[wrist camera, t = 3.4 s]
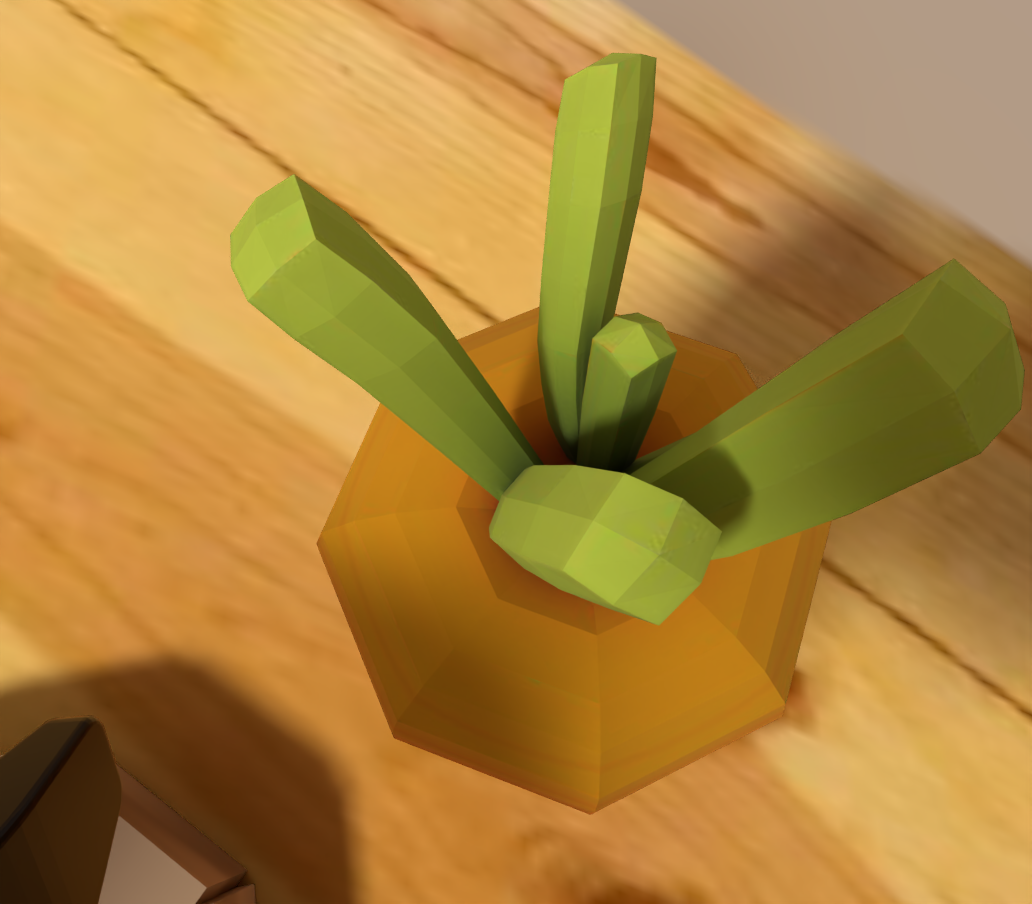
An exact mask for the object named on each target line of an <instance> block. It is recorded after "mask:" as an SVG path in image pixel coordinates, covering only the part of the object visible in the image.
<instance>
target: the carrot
mask: <svg viewBox="0 0 1032 904" xmlns="http://www.w3.org/2000/svg"><path fill="white" fill-rule="evenodd" d="M655 73H656V58H655V57H651V56H647V55H643V54H629V53H611V54H610V55H608V56H606V57H604V58H603V59H601V60H599V61H597V62H596V63H594V64H592V65H590V66H588V67H587V68H585V69H583V70H581V71H580V72H578V73H576V74H574V75H573V76H571V77H569V78H567V79H566V80H565V82H564V87H563V93H562V98H561V104H560V109H559V115H558V120H557V126H556V131H555V140H554V150H553V160H552V170H551V180H550V191H549V201H548V212H547V222H546V233H545V244H544V255H543V266H542V277H541V292H540V307H538V308H535V309H533V310H530V311H528V312H525V313H523V314H520V315H518V316H515V317H513V318H510V319H508V320H505V321H503V322H500V323H498V324H496V325H493V326H491V327H488V328H486V329H483V330H481V331H478V332H476V333H473V334H471V335H468V336H466V337H463V338H461V339H458V340H457V339H456V338H455V337H454V335H453V334H452V332H451V331H450V330H449V328H448V327H447V325H446V324H445V323H444V321H443V320H442V319H441V317H440V316H439V314H438V313H437V312H436V310H435V309H434V307H433V306H432V305H431V303H430V302H429V301H428V299H427V298H426V297H425V295H424V294H423V293H422V291H421V290H420V289H419V287H418V286H417V285H416V283H415V282H414V281H413V279H412V278H411V277H410V275H409V274H408V273H407V272H406V271H405V270H404V269H403V268H402V267H401V266H400V265H399V264H398V263H397V262H396V261H395V260H394V259H393V258H392V257H391V256H390V255H389V254H388V253H387V252H386V251H385V250H384V249H383V248H382V247H381V246H380V245H379V244H378V243H377V242H376V241H375V240H374V239H373V238H372V237H371V236H370V235H369V234H368V233H367V232H366V231H365V230H364V229H363V228H362V227H361V226H360V225H359V224H358V223H357V222H356V221H355V220H354V219H353V218H352V217H351V216H350V215H349V214H348V213H347V212H346V211H344V210H343V209H341V208H340V207H339V206H337V205H336V204H335V203H333V202H332V201H330V200H329V199H328V198H326V197H325V196H324V195H322V194H321V193H319V192H318V191H317V190H315V189H314V188H313V187H311V186H310V185H308V184H307V183H306V182H304V181H303V180H302V179H300V178H299V177H297V176H296V175H295V174H293V175H292V176H290V177H289V178H287V179H285V180H284V181H282V182H281V183H279V184H277V185H276V186H274V187H273V188H271V189H270V190H268V191H266V192H265V193H263V194H262V195H260V196H259V197H257V198H256V199H255V200H254V202H253V203H252V205H251V206H250V207H249V209H248V210H247V212H246V213H245V215H244V216H243V217H242V219H241V220H240V222H239V223H238V225H237V226H236V228H235V229H234V230H233V232H232V233H231V235H230V240H231V267H232V270H233V272H234V274H235V276H236V278H237V280H238V282H239V284H240V286H241V288H242V290H243V292H244V294H245V297H246V299H247V301H248V302H249V303H251V304H252V305H253V306H254V307H256V308H257V309H258V310H259V311H260V312H262V313H263V314H264V315H265V316H266V317H268V318H269V319H270V320H271V321H273V322H274V323H275V324H276V325H277V326H279V327H280V328H281V329H282V330H284V331H285V332H286V333H287V334H288V335H290V336H291V337H292V338H293V339H295V340H296V341H297V342H299V343H300V344H302V345H303V346H305V347H306V348H307V349H309V350H310V351H312V352H313V353H315V354H316V355H317V356H319V357H320V358H322V359H323V360H325V361H326V362H327V363H329V364H330V365H332V366H333V367H334V368H336V369H337V370H339V371H340V372H342V373H343V374H344V375H346V376H347V377H349V378H350V379H352V380H353V381H354V382H356V383H357V384H359V385H360V386H361V387H362V388H363V389H365V390H366V391H367V392H368V393H370V394H371V395H372V396H373V397H374V398H376V399H377V400H378V401H379V402H380V405H379V407H378V409H377V411H376V413H375V416H374V418H373V420H372V422H371V424H370V427H369V429H368V431H367V433H366V435H365V438H364V440H363V442H362V444H361V446H360V449H359V451H358V453H357V455H356V457H355V460H354V462H353V464H352V466H351V468H350V471H349V473H348V475H347V477H346V479H345V482H344V484H343V486H342V488H341V490H340V493H339V495H338V497H337V499H336V501H335V504H334V506H333V508H332V510H331V513H330V515H329V517H328V519H327V521H326V524H325V526H324V528H323V530H322V532H321V535H320V537H319V539H318V541H317V546H318V549H319V551H320V554H321V557H322V559H323V562H324V564H325V567H326V569H327V572H328V574H329V577H330V579H331V582H332V584H333V587H334V589H335V592H336V594H337V597H338V599H339V602H340V604H341V607H342V609H343V612H344V614H345V617H346V619H347V622H348V624H349V627H350V629H351V632H352V634H353V637H354V639H355V642H356V644H357V647H358V649H359V652H360V654H361V657H362V659H363V662H364V664H365V667H366V669H367V672H368V674H369V677H370V679H371V682H372V684H373V687H374V689H375V692H376V694H377V697H378V699H379V702H380V704H381V707H382V709H383V712H384V714H385V717H386V719H387V722H388V724H389V727H390V729H391V732H392V734H393V737H394V738H395V739H398V740H400V741H403V742H405V743H408V744H410V745H413V746H416V747H418V748H421V749H423V750H426V751H428V752H431V753H434V754H436V755H439V756H441V757H444V758H446V759H449V760H451V761H454V762H457V763H459V764H462V765H464V766H467V767H469V768H472V769H475V770H477V771H480V772H482V773H485V774H487V775H490V776H492V777H495V778H498V779H500V780H503V781H505V782H508V783H510V784H513V785H516V786H518V787H521V788H523V789H526V790H528V791H531V792H533V793H536V794H539V795H541V796H544V797H546V798H549V799H551V800H554V801H557V802H559V803H562V804H564V805H567V806H569V807H572V808H574V809H577V810H580V811H582V812H585V813H587V814H590V815H591V814H593V813H595V812H597V811H599V810H600V809H602V808H604V807H606V806H608V805H610V804H612V803H614V802H616V801H618V800H620V799H622V798H624V797H626V796H628V795H630V794H632V793H634V792H636V791H638V790H640V789H642V788H644V787H645V786H647V785H649V784H651V783H653V782H655V781H657V780H659V779H661V778H663V777H665V776H667V775H669V774H671V773H673V772H675V771H677V770H679V769H681V768H683V767H685V766H687V765H689V764H690V763H692V762H694V761H696V760H698V759H700V758H702V757H704V756H706V755H708V754H710V753H712V752H714V751H716V750H718V749H720V748H722V747H724V746H726V745H728V744H730V743H732V742H734V741H735V740H737V739H739V738H741V737H743V736H745V735H747V734H749V733H751V732H753V731H755V730H757V729H759V728H761V727H763V726H765V725H767V724H769V723H771V722H773V721H775V720H776V719H778V718H780V717H782V716H783V712H784V708H785V704H786V701H787V697H788V693H789V689H790V685H791V681H792V677H793V673H794V669H795V665H796V661H797V657H798V653H799V649H800V645H801V641H802V637H803V633H804V629H805V625H806V621H807V617H808V613H809V609H810V605H811V601H812V597H813V593H814V589H815V585H816V581H817V577H818V573H819V569H820V565H821V561H822V557H823V553H824V549H825V545H826V541H827V537H828V533H829V529H830V525H831V521H832V520H834V519H837V518H839V517H842V516H845V515H848V514H851V513H853V512H855V511H857V510H859V509H862V508H864V507H866V506H868V505H870V504H872V503H875V502H877V501H879V500H881V499H883V498H885V497H887V496H890V495H892V494H894V493H896V492H898V491H900V490H903V489H905V488H907V487H909V486H911V485H913V484H916V483H918V482H920V481H922V480H924V479H926V478H929V477H931V476H933V475H935V474H937V473H939V472H942V471H944V470H946V469H948V468H950V467H952V466H954V465H957V464H959V463H961V462H963V461H965V460H967V459H970V458H972V457H974V456H976V455H978V454H980V453H981V452H982V451H983V450H984V449H985V448H986V447H987V446H988V445H989V444H990V443H991V441H992V440H993V439H994V438H995V437H996V436H997V435H998V434H999V433H1000V432H1001V430H1002V429H1003V428H1004V427H1005V426H1006V425H1007V424H1008V423H1009V422H1010V421H1011V420H1012V418H1013V417H1014V416H1015V415H1016V414H1017V413H1018V412H1019V411H1020V410H1021V403H1022V393H1023V382H1024V372H1025V370H1024V366H1023V363H1022V359H1021V356H1020V353H1019V349H1018V346H1017V342H1016V339H1015V335H1014V332H1013V328H1012V325H1011V321H1010V318H1009V314H1008V311H1007V307H1006V304H1005V303H1004V302H1003V301H1002V300H1001V299H1000V298H998V297H997V296H996V295H995V294H994V293H993V292H992V291H990V290H989V289H988V288H987V287H986V286H985V285H984V284H983V283H981V282H980V281H979V280H978V279H977V278H976V277H975V276H973V275H972V274H971V273H970V272H969V271H968V270H967V269H965V268H964V267H963V266H962V265H961V264H960V263H959V262H958V261H956V260H955V259H953V260H951V261H950V262H948V263H947V264H945V265H943V266H942V267H940V268H939V269H937V270H936V271H934V272H933V273H931V274H929V275H928V276H926V277H925V278H923V279H922V280H920V281H918V282H917V283H915V284H914V285H912V286H911V287H909V288H908V289H906V290H904V291H903V292H901V293H900V294H898V295H897V296H895V297H894V298H892V299H890V300H889V301H887V302H886V303H884V304H883V305H881V306H880V307H878V308H876V309H875V310H873V311H872V312H870V313H869V314H867V315H866V316H864V317H862V318H861V319H859V320H858V321H856V322H855V323H853V324H852V325H850V326H848V327H847V328H845V329H844V330H842V331H841V332H839V333H838V334H836V335H834V336H833V337H831V338H830V339H828V340H827V341H826V342H824V343H823V344H821V345H820V346H819V347H817V348H816V349H814V350H813V351H812V352H810V353H809V354H807V355H806V356H805V357H803V358H802V359H800V360H799V361H798V362H796V363H795V364H793V365H792V366H791V367H789V368H788V369H786V370H785V371H783V372H782V373H781V374H779V375H778V376H776V377H775V378H773V379H772V380H770V381H769V382H768V383H766V384H765V385H763V386H762V387H760V388H759V389H757V387H756V385H755V384H754V382H753V380H752V379H751V377H750V375H749V374H748V372H747V370H746V369H745V367H744V365H743V364H742V362H741V360H740V359H739V357H738V355H737V354H735V353H732V352H729V351H726V350H723V349H720V348H717V347H714V346H711V345H708V344H705V343H702V342H699V341H696V340H693V339H690V338H687V337H684V336H681V335H678V334H675V333H672V332H669V331H666V330H665V328H664V327H663V325H662V323H660V322H658V321H656V320H653V319H651V318H649V317H647V316H644V315H642V314H640V313H632V314H626V315H618V314H615V310H616V305H617V300H618V296H619V291H620V287H621V282H622V278H623V273H624V268H625V264H626V259H627V255H628V250H629V246H630V241H631V237H632V232H633V227H634V223H635V218H636V214H637V209H638V205H639V200H640V196H641V191H642V184H643V178H644V171H645V164H646V158H647V151H648V145H649V138H650V131H651V125H652V118H653V105H654V89H655Z"/></svg>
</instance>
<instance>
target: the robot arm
mask: <svg viewBox="0 0 1032 904" xmlns="http://www.w3.org/2000/svg"><path fill="white" fill-rule="evenodd" d="M121 802H122V784H121V779H120V775H119V772H118V769H117V766H116V763H115V759H114V756H113V753H112V750H111V747H110V744H109V741H108V737H107V734H106V731H105V728H104V726H103V724H102V722H101V721H100V720H99V719H98V718H96V717H94V716H89V715H88V716H75V717H62V718H55V719H51V720H49V721H47V722H45V723H44V724H42V725H41V726H39V727H38V728H37V729H36V730H34V731H33V732H32V733H30V734H29V735H28V736H27V737H25V738H24V739H23V740H21V741H20V742H19V743H18V744H16V745H15V746H14V747H12V748H11V749H10V750H9V751H7V752H6V753H5V754H3V755H2V756H1V757H0V904H98V903H99V899H100V894H101V890H102V886H103V882H104V877H105V873H106V869H107V864H108V860H109V856H110V852H111V847H112V843H113V839H114V834H115V830H116V826H117V822H118V817H119V813H120V808H121Z"/></svg>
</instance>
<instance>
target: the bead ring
mask: <svg viewBox="0 0 1032 904" xmlns="http://www.w3.org/2000/svg"><path fill="white" fill-rule="evenodd" d="M1 756H2V755H1ZM1 756H0V757H1ZM116 766H117V769H118V772H119V775H120V779H121V784H122V802H121V808H120V813H119V817H118V822H117V826H116V830H115V834H114V839H113V843H112V847H111V852H110V856H109V860H108V864H107V869H106V873H105V877H104V882H103V886H102V890H101V894H100V899H99V903H98V904H256V900H255V887H254V884H250V885H245V886H240V887H236V886H237V884H238V883H239V882H240V880H241V879H242V877H243V876H244V875H245V873H246V872H247V870H246V869H245V868H244V867H243V866H242V865H240V864H239V863H238V862H237V861H235V860H234V859H233V858H232V857H230V856H229V855H228V854H227V853H225V852H224V851H223V850H222V849H221V848H219V847H218V846H217V845H216V844H214V843H213V842H212V841H211V840H209V839H208V838H207V837H206V836H204V835H203V834H202V833H201V832H200V831H198V830H197V829H196V828H195V827H193V826H192V825H191V824H190V823H188V822H187V821H186V820H185V819H184V818H182V817H181V816H180V815H179V814H177V813H176V812H175V811H174V810H172V809H171V808H170V807H169V806H167V805H166V804H165V803H164V802H163V801H161V800H160V799H159V798H158V797H156V796H155V795H154V794H153V793H151V792H150V791H149V790H148V789H146V788H145V787H144V786H143V785H142V784H140V783H139V782H138V781H137V780H135V779H134V778H133V777H132V776H130V775H129V774H128V773H127V772H125V771H124V770H123V769H122V768H121V767H119V766H118V765H117V764H116Z"/></svg>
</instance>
